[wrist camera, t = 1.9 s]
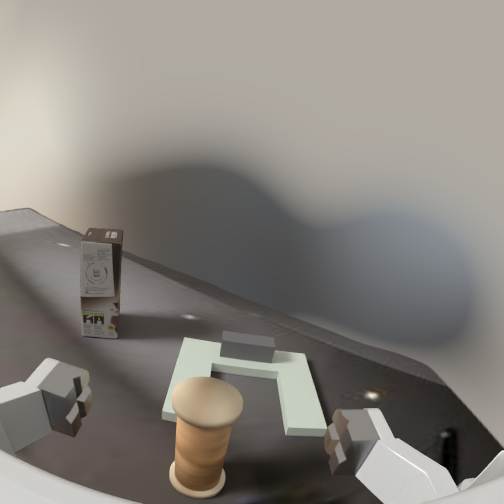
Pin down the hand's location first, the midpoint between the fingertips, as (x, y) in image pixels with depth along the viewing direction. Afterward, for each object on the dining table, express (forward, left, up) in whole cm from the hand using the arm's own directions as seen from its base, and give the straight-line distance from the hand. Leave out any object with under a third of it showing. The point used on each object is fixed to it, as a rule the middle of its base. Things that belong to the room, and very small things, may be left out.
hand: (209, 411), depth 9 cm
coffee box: (+20, -39, -22) cm, 49 cm away
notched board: (-5, -29, -22) cm, 37 cm away
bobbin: (0, -12, -22) cm, 25 cm away
